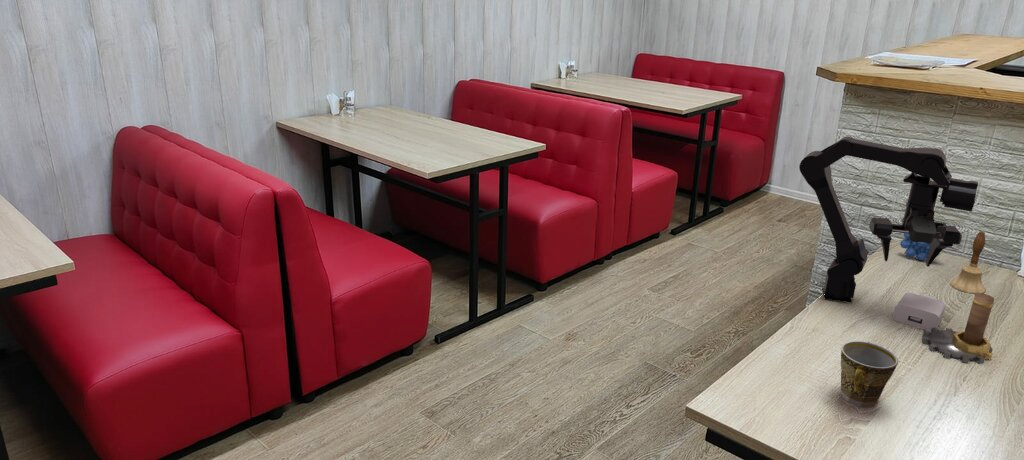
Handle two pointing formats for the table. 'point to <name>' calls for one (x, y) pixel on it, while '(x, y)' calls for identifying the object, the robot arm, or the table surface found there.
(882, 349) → the ceramic cup
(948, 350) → the sprocket
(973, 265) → the hand bell
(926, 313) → the charger
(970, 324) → the peg
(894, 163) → the robot arm
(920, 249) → the grapes
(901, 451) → the table surface
